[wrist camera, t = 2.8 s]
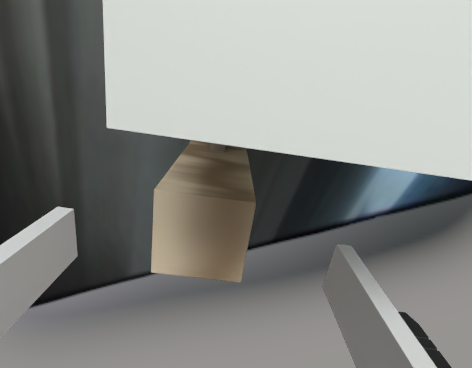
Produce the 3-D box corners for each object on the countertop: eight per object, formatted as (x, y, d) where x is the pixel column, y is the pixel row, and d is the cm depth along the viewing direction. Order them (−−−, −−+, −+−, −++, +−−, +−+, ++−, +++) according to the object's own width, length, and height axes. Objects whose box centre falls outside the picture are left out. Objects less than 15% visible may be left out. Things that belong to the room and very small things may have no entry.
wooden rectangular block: (187, 189, 26) (151, 272, 14) (203, 7, 20) (164, -88, 9) (238, 195, 26) (240, 282, 15) (267, 18, 20) (307, -60, 9)
